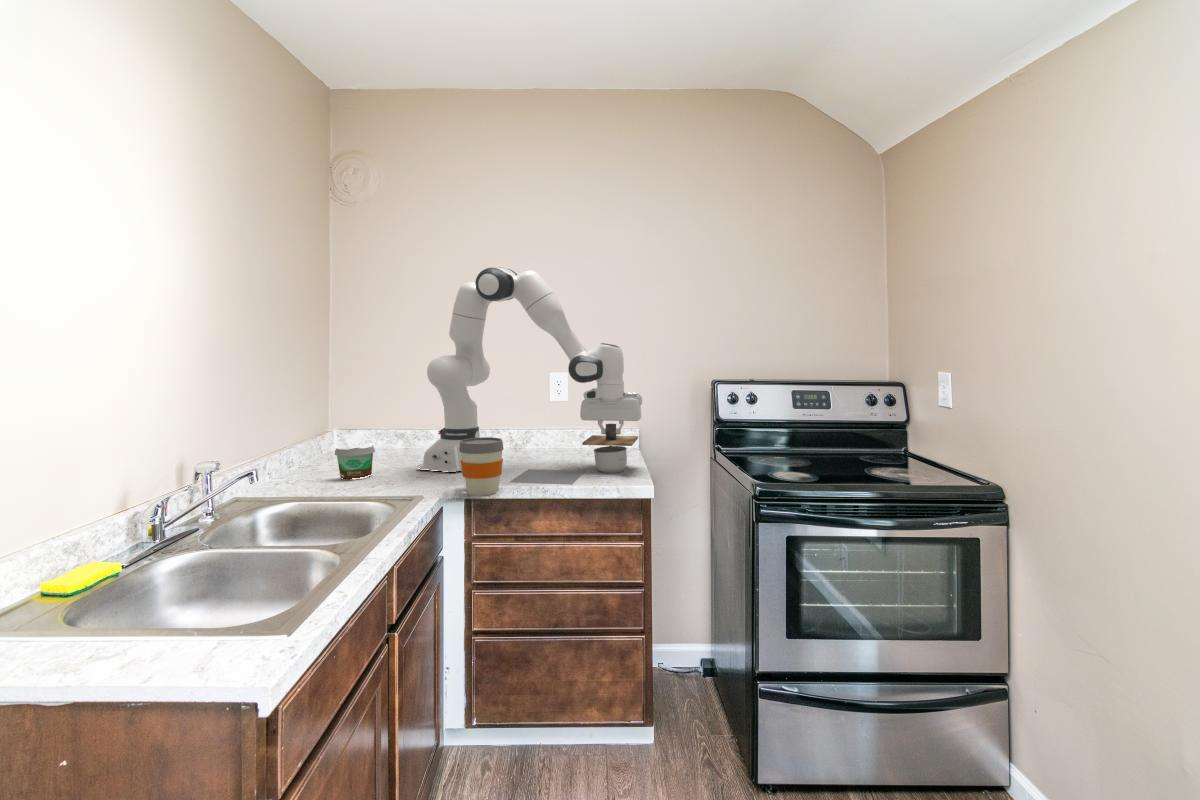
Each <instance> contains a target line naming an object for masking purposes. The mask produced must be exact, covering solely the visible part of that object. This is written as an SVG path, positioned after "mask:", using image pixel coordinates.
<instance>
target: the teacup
mask: <svg viewBox="0 0 1200 800" xmlns="http://www.w3.org/2000/svg"><path fill="white" fill-rule="evenodd" d="M627 449H628V448H627V446H608V445H606V446H600V447H596V448H595V449H593V452H594V462H595V468H597V470H598V471H600V472H602V473H604V474H605V473H606V474H615V473H616V474H617V473H621V472H622V471H623V470H624V469H625V468H626V466H627V464H628V462H627V461H628V459H627V457H628V456H627V455H628V454H627V451H628V450H627Z"/></svg>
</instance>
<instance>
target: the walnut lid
mask: <svg viewBox="0 0 1200 800" xmlns="http://www.w3.org/2000/svg"><path fill="white" fill-rule="evenodd" d="M605 428H606V434H605V435H603V434H601V435H597V434H596V435H595V434H594V435H593V434H591V436H589V437H588V438H587V439H585V440H584V441H583V442H582V444H581V445H582V446H622V447H632V446H633V445H634V444H635V442H637V441H638V439H639V436H638V435H617V434H616V429H617V423H605Z"/></svg>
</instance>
